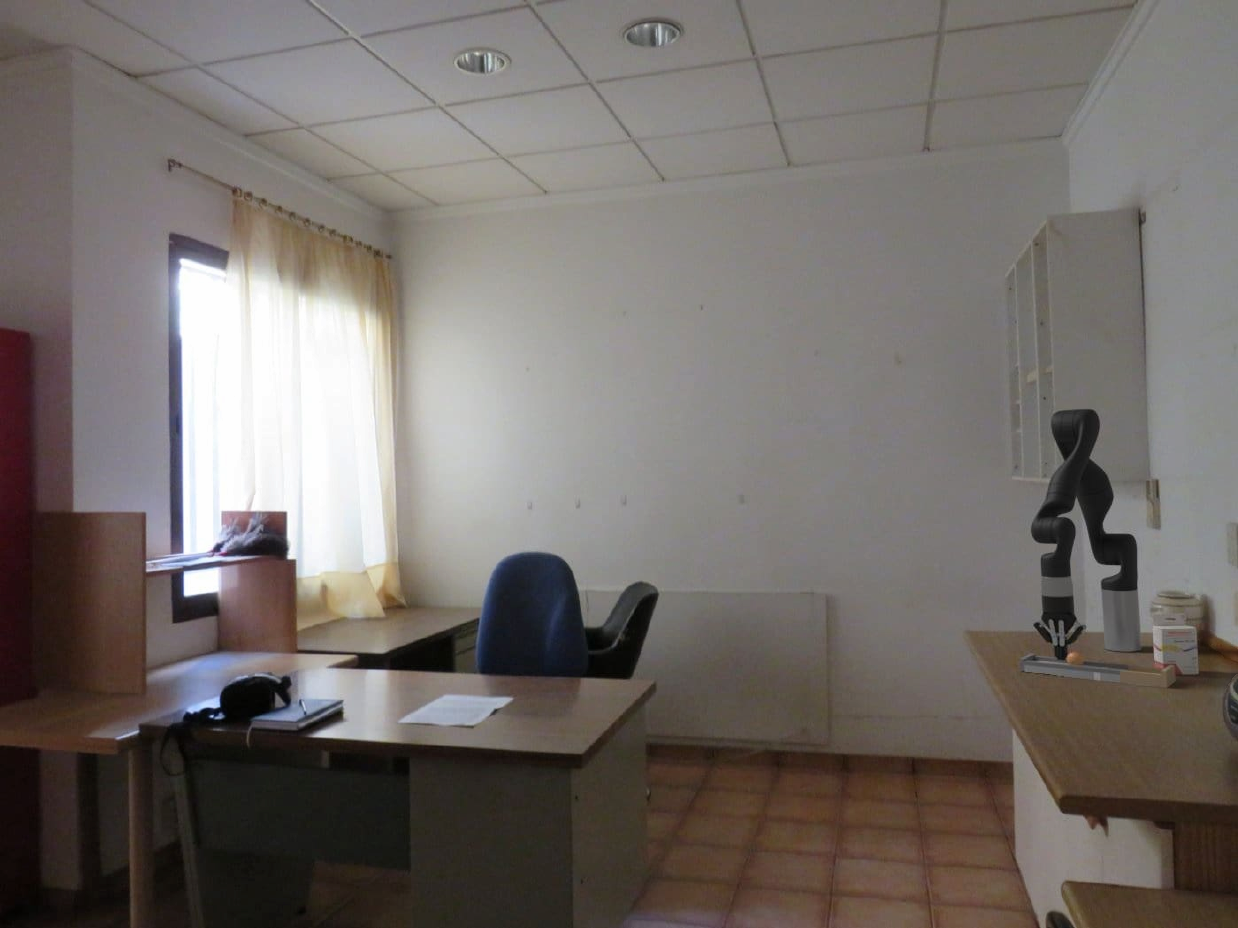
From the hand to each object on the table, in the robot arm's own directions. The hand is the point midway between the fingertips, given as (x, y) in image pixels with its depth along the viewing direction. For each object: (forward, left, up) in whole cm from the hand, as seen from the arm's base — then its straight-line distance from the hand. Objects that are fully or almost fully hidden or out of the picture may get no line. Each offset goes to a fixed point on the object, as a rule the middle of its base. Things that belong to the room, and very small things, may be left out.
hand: (1061, 659), depth 234 cm
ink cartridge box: (-14, +23, -4) cm, 27 cm away
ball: (0, +4, +1) cm, 4 cm away
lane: (0, +9, -3) cm, 10 cm away
